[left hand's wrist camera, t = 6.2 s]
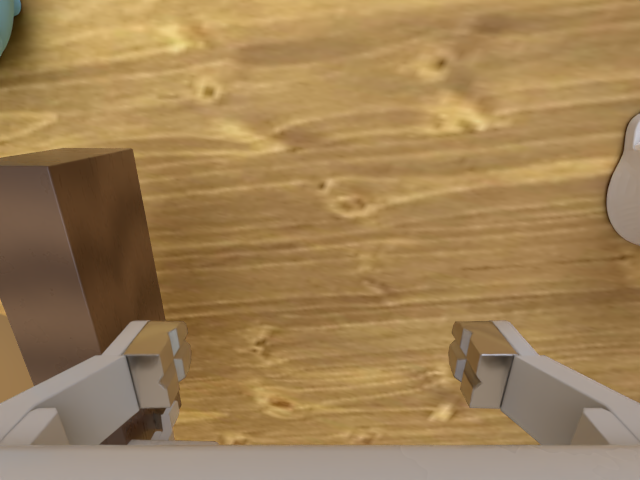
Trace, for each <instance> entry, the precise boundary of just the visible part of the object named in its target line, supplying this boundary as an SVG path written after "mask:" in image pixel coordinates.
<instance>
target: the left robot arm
mask: <svg viewBox="0 0 640 480" xmlns="http://www.w3.org/2000/svg"><path fill="white" fill-rule="evenodd" d="M607 212H608V216H609V219H610V222H611V224H612V226H613V227H614V229H615V230H616V232H617V233H618V234H619V235H620V236H622V237H623V238H624V239H626V240H627V241H629V242H631V243H633V244H636V245H639V246H640V113H639V114H638V115H636V116H635V117H634V118H633V119H632V120H631V121H630V123H629V124H628V127H627V131H626V136H625V145H624V152H623V155H622V157H621V159H620V161H619V163H618V165H617V167H616V169H615V171H614V173H613V175H612V178H611V181H610V184H609V188H608V192H607ZM187 334H188V330H187V325H186V323H185V322H184V321H154V320H151V321H149V320H135V321H132V322H130V323H129V324H128V325H127V326H126V328H125V329H124V330H123V331H122V332H121V333H120V334H119V335H118V337H117V338H116V339H115V340H114V341H113V342H112V343H111V344H110V346H109V347H108V348H107V349H106V350H105V351H104V352H103V353H102V355H95V356H93V357H91V358H89V359H87V360H85V361H83V362H81V363H79V364H77V365H75V366H73V367H71V368H69V369H67V370H65V371H63V372H61V373H59V374H57V375H56V376H54V377H52V378H50V379H48V380H46V381H44V382H42V383H40V384H38V385H36V386H34V387H32V388H30V389H28V390H26V391H24V392H22V393H20V394H18V395H16V396H14V397H12V398H10V399H8V400H6V401H4V402H2V403H0V480H640V403H638V402H636V401H634V400H632V399H630V398H628V397H626V396H624V395H622V394H620V393H618V392H616V391H614V390H612V389H610V388H608V387H606V386H604V385H602V384H600V383H598V382H596V381H594V380H592V379H590V378H588V377H586V376H584V375H582V374H580V373H578V372H576V371H574V370H573V369H571V368H569V367H567V366H565V365H563V364H561V363H559V362H557V361H555V360H553V359H551V358H549V357H547V356H545V355H538V353H537V352H536V351H535V350H534V349H533V348H532V347H531V346H530V344H529V343H528V342H527V341H526V340H525V339H524V338H523V337H522V335H521V334H520V333H519V332H518V331H517V330H516V329H515V328H514V326H513V325H512V324H511V323H510V322H508V321H506V320H495V321H459V322H455V323H454V325H453V329H452V334H453V336H454V338H455V340H454V341H453V342H452V343H451V344H450V347H449V365H450V368H451V371H452V373H453V375H454V377H455V378H456V379H457V380H459V381H460V382H461V388H460V390H461V392H462V394H463V396H464V398H465V400H466V402H467V404H468V406H469V408H494V409H501V411H502V412H503V413H504V414H506V415H507V416H508V417H509V418H510V419H512V420H513V421H514V422H515V423H516V424H517V425H519V426H520V427H521V428H522V429H523V430H525V431H526V432H527V433H528V434H529V435H530V436H532V437H533V438H534V439H535V440H536V441H538V442H539V443H540V444H541V445H99V444H100V443H101V442H103V441H104V440H105V439H106V438H107V437H108V436H110V435H111V434H112V433H113V432H114V431H116V430H117V429H118V428H119V427H120V426H122V425H123V424H124V423H125V422H126V421H127V420H129V419H130V418H131V417H132V416H133V415H135V414H136V413H137V412H138V411H139V409H145V408H171V406H172V404H173V402H174V400H175V398H176V396H177V394H178V392H179V390H180V388H179V382H180V381H181V380H183V379H184V378H185V377H186V375H187V373H188V371H189V368H190V363H191V347H190V344H189V343H188V342H187V341H186V340H185V338H186V336H187Z"/></svg>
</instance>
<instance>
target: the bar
mask: <svg viewBox="0 0 640 480" xmlns="http://www.w3.org/2000/svg"><path fill="white" fill-rule="evenodd" d="M0 299H1V302H2V304H3V307H4V309H5V312H6V315H7V317H8V320H9V322H10V325H11V327H12V330H13V333H14V335H15V338H16V340H17V343H18V346H19V348H20V351H21V353H22V356H23V359H24V361H25V364H26V366H27V369H28V371H29V374H30V376H31V379H32V382H33V384H34V386H36V385H38V384H40V383H42V382H44V381H46V380H48V379H50V378H52V377H54V376H56V375H57V374H59V373H61V372H63V371H65V370H67V369H69V368H71V367H73V366H75V365H77V364H79V363H81V362H83V361H85V360H87V359H89V358H91V357H93V356H95V355H102V353H103V352H104V351H105V350H106V349H107V348H108V347H109V346H110V344H111V343H112V342H113V341H114V340H115V339H116V338H117V337H118V335H119V334H120V333H121V332H122V331H123V330H124V329H125V328H126V326H127V325H128V324H129V323H130V322H132V321H135V320H149V321H151V320H154V321H165V316H164V311H163V305H162V300H161V295H160V290H159V285H158V279H157V274H156V269H155V264H154V258H153V253H152V248H151V243H150V237H149V232H148V227H147V222H146V216H145V211H144V206H143V201H142V196H141V190H140V185H139V180H138V175H137V169H136V164H135V159H134V154H133V149H124V148H61V149H55V150H48V151H42V152H35V153H29V154H22V155H16V156H9V157H3V158H0ZM175 400H176V401H178V406H179V409H180V407H181V400H180V394H179V392H178V394H177V396H176V398H175ZM155 409H156V408H145V409H139V411H138V412H137V413H136V414H135V415H133V416H132V417H131V418H130V419H129V420H127V421H126V422H125V423H124V424H123V425H122V426H120V427H119V428H118V429H117V430H116V431H114V432H113V433H112V434H111V435H110V436H108V437H107V438H106V439H105V440H104V441H103V442H101V443H100V444H99V445H127V444H128V443H129V442H130V441H131V440H151V438H152V436H153V435H154V433H155V432H156V431H161V432H162V431H163V430H162V429H156V427H155V421H154V418H153V412H154V411H155Z"/></svg>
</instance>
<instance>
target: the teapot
mask: <svg viewBox="0 0 640 480" xmlns="http://www.w3.org/2000/svg"><path fill="white" fill-rule="evenodd" d="M20 10H21V3H20V0H0V56H1V54H2V53H3V51H4V50H5V48H6V46H7V44H8V41H9V38H10V35H11V31H12V26H13V18H14V16H16V15H18V14H19V12H20Z"/></svg>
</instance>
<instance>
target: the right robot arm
mask: <svg viewBox="0 0 640 480" xmlns="http://www.w3.org/2000/svg"><path fill="white" fill-rule="evenodd" d="M178 415H179V406H178V401H176V400H174V402H173V404H172V406H171V408H156V409H155V411H154V412H153V418H154V421H155V427H156V429H162V430H163V431H162V432H161V431H156V432H155V433H154V435H153V436H152V438H151V440H131V441H130V442H129V443H128V444H127V445H219V443H217V442H215V441H176V440H175V439H174V433H173V426H174V424H175V422H176V420H177V418H178Z"/></svg>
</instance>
